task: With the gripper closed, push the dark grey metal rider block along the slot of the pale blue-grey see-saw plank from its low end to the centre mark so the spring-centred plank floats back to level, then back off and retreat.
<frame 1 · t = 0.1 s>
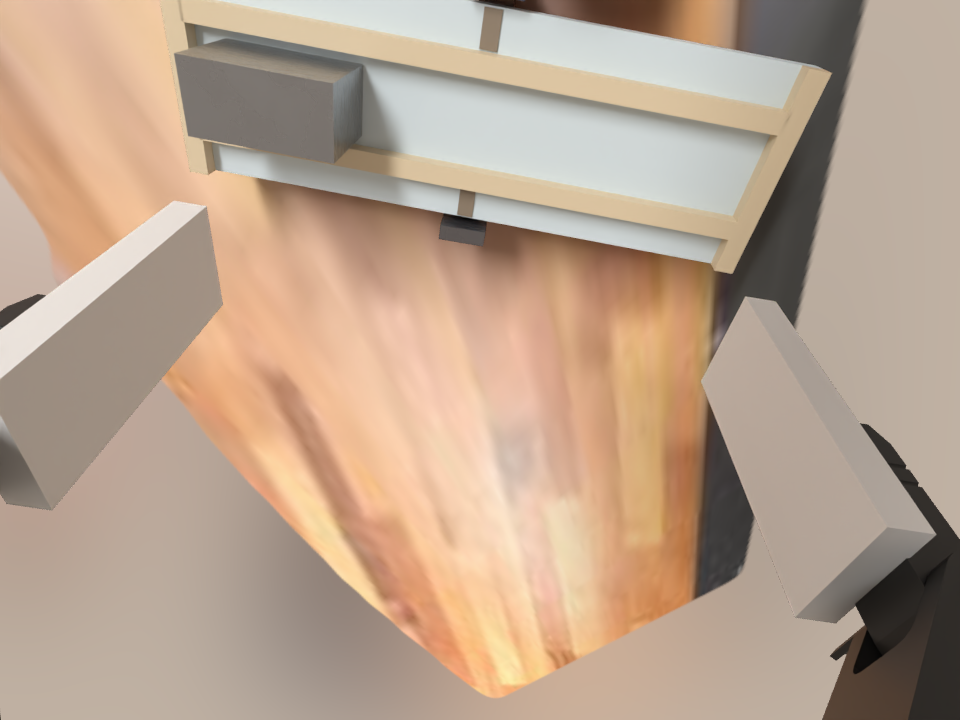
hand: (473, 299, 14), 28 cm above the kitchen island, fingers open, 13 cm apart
fulcrum: (483, 102, 37), on the kitchen island
rider: (296, 88, 33), point 5 cm above the kitchen island, touching beam
beam: (477, 122, 33), point 5 cm above the kitchen island, hinge at 2.3°, touching rider
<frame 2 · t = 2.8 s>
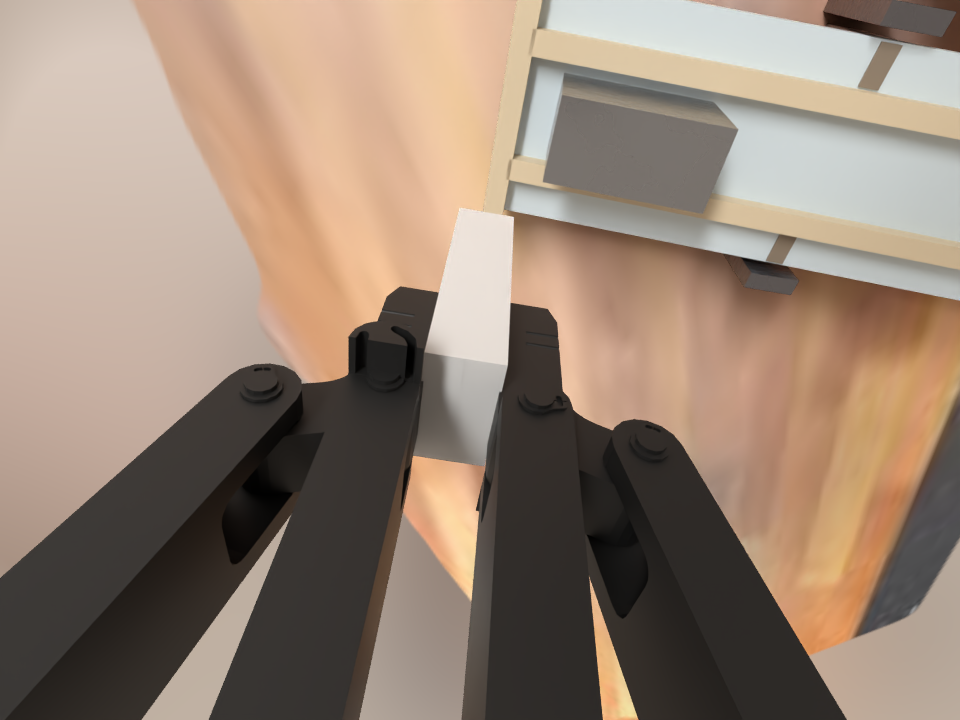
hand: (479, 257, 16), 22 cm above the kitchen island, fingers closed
fulcrum: (790, 138, 34), on the kitchen island
rider: (626, 126, 30), point 4 cm above the kitchen island, touching beam
beam: (824, 165, 30), point 5 cm above the kitchen island, hinge at 4.1°, touching rider
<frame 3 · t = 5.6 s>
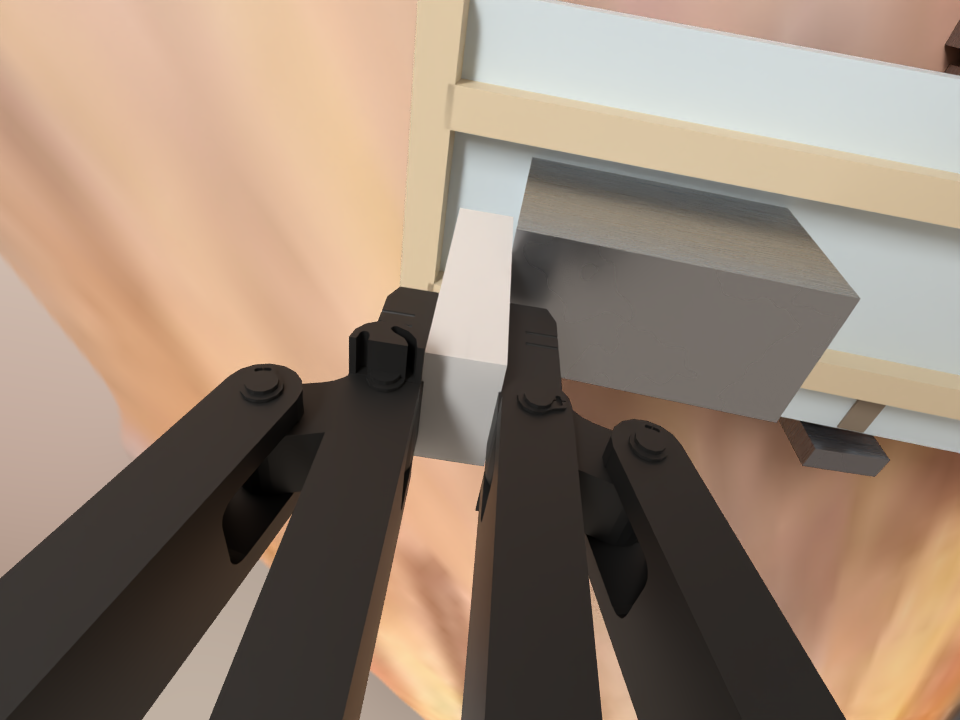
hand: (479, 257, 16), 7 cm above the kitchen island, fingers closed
fulcrum: (873, 234, 22), on the kitchen island
rider: (638, 241, 18), point 4 cm above the kitchen island, touching gripper
beam: (948, 300, 18), point 5 cm above the kitchen island, hinge at 4.3°
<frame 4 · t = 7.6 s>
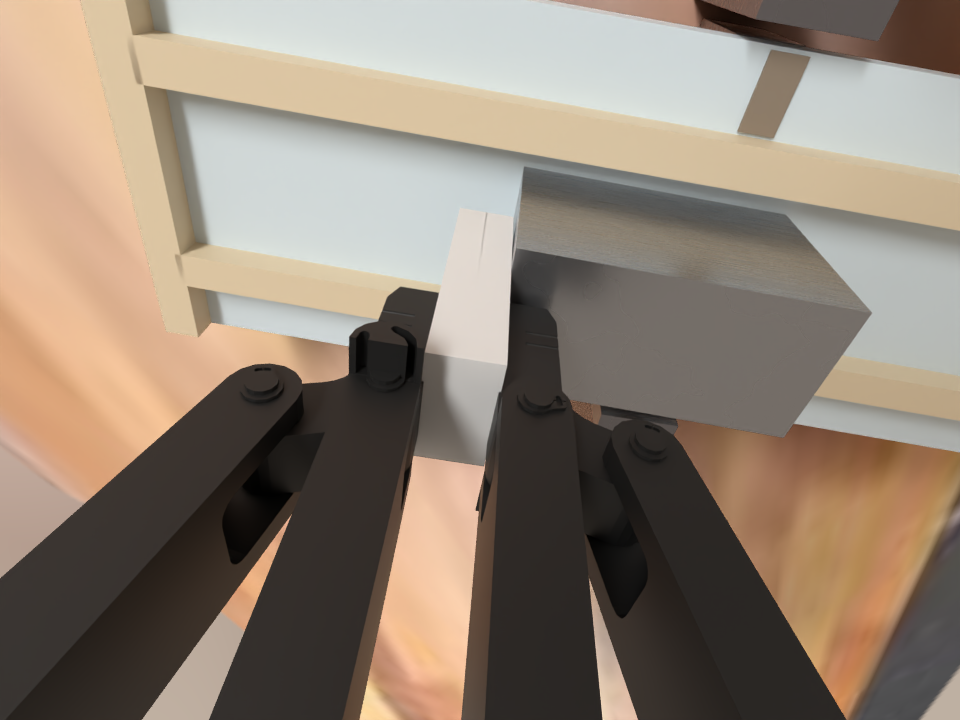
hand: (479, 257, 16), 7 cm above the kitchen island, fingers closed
fulcrum: (667, 198, 22), on the kitchen island
rider: (633, 250, 18), point 5 cm above the kitchen island, touching beam, gripper
beam: (699, 257, 18), point 5 cm above the kitchen island, hinge at 1.7°, touching rider
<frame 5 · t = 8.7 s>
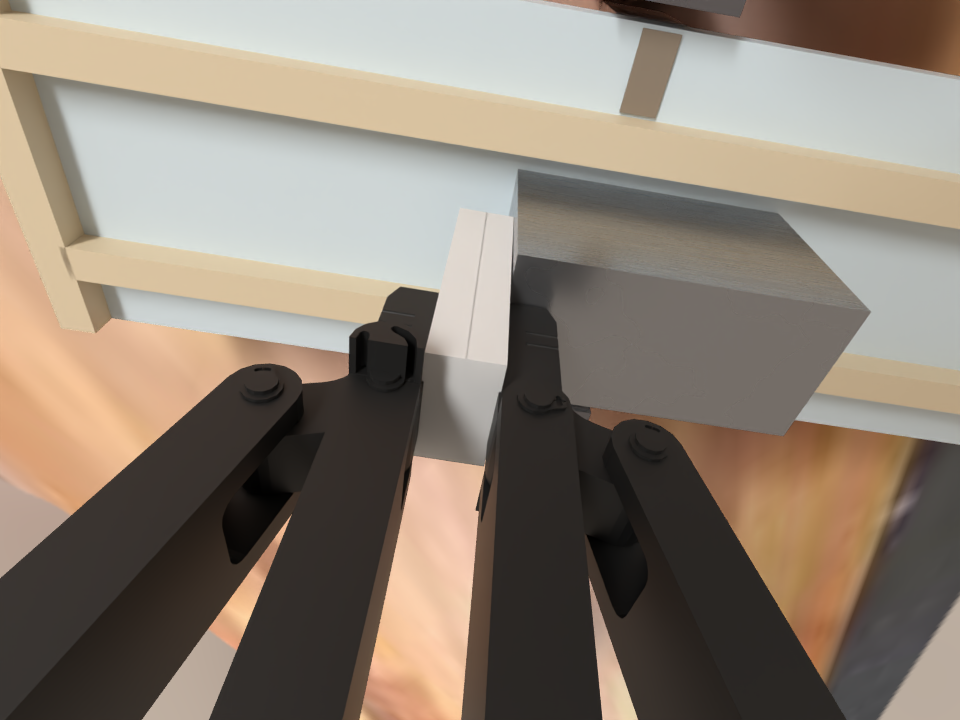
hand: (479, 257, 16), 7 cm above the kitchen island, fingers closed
fulcrum: (583, 184, 21), on the kitchen island
rider: (628, 251, 18), point 5 cm above the kitchen island, touching beam
beam: (597, 241, 17), point 5 cm above the kitchen island, hinge at -0.7°, touching rider
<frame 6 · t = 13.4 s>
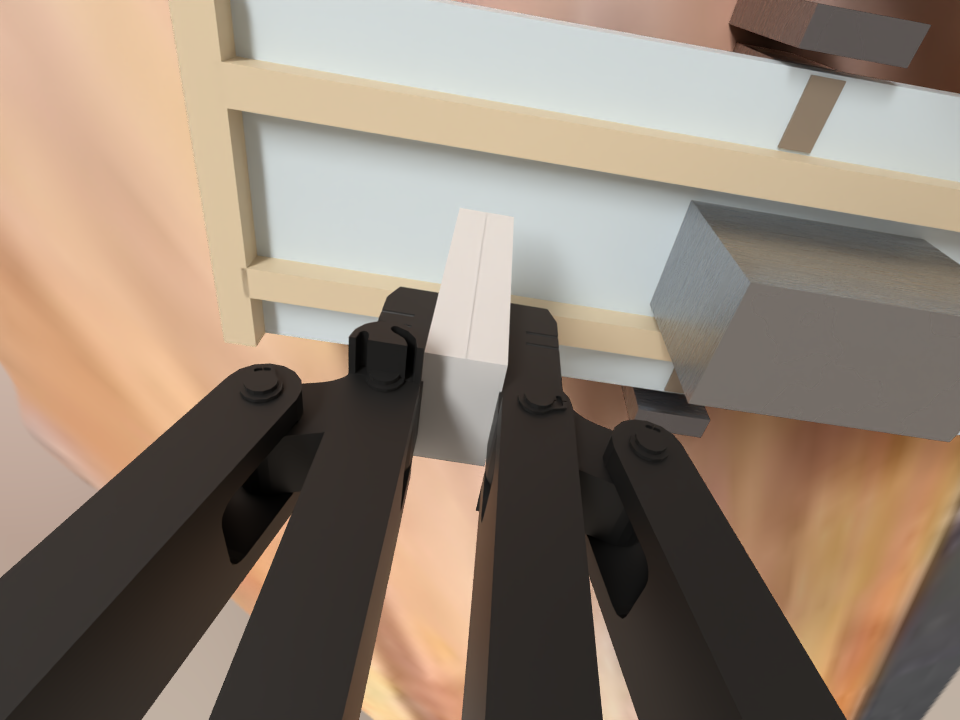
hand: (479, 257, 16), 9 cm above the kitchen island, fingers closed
fulcrum: (698, 207, 23), on the kitchen island
rider: (779, 273, 19), point 5 cm above the kitchen island, touching beam
beam: (736, 262, 19), point 5 cm above the kitchen island, hinge at -0.9°, touching rider
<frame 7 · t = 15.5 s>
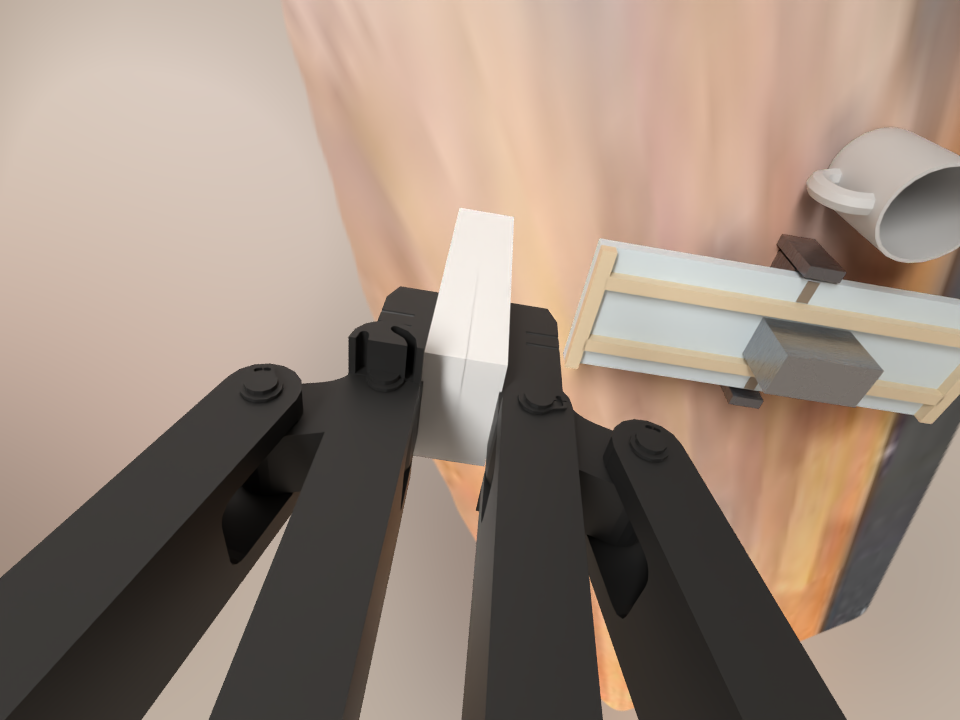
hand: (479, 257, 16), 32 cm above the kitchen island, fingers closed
fulcrum: (758, 307, 53), on the kitchen island
rider: (795, 342, 49), point 5 cm above the kitchen island, touching beam
cup: (850, 170, 45), on the kitchen island
beam: (778, 338, 49), point 5 cm above the kitchen island, hinge at -0.9°, touching rider
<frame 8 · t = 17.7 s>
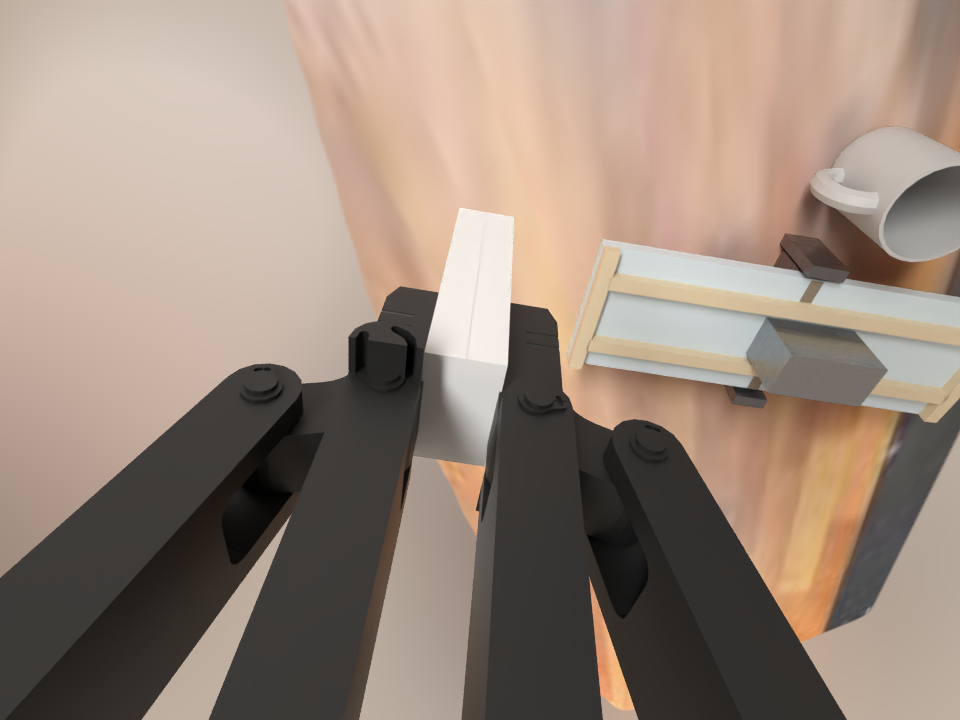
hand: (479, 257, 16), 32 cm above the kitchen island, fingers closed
fulcrum: (762, 307, 53), on the kitchen island
rider: (798, 342, 49), point 5 cm above the kitchen island, touching beam
cup: (853, 169, 45), on the kitchen island
beam: (782, 338, 49), point 5 cm above the kitchen island, hinge at -0.9°, touching rider
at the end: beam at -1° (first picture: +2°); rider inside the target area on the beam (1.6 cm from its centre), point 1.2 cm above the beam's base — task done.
